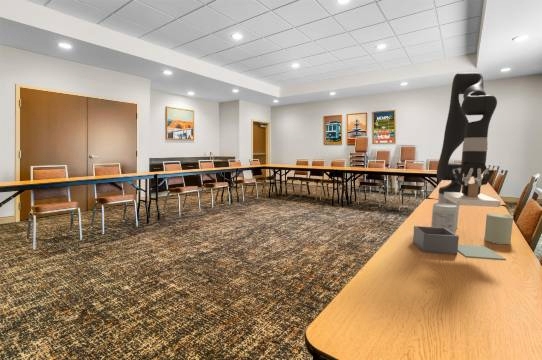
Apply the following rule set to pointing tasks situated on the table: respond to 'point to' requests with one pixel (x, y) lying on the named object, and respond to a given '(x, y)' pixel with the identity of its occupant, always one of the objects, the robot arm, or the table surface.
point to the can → (498, 228)
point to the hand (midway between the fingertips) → (470, 195)
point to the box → (435, 240)
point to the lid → (472, 197)
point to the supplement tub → (444, 216)
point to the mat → (478, 252)
